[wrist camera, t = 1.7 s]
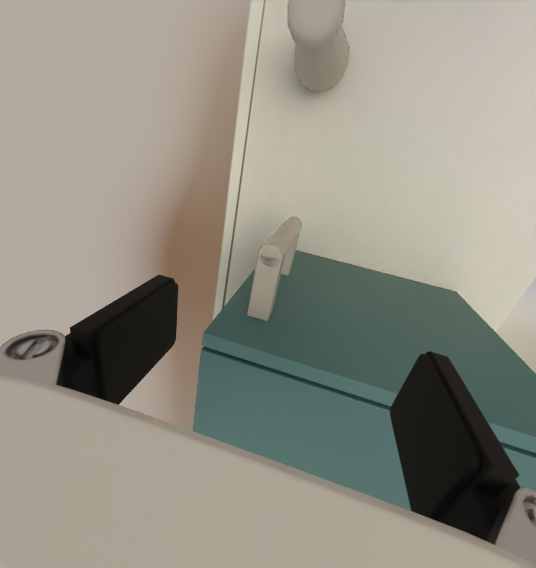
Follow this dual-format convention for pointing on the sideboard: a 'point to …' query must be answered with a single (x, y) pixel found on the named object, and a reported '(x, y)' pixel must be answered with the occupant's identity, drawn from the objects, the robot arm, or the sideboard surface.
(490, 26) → the sideboard surface
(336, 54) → the salt shaker
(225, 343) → the fridge door
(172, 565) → the robot arm
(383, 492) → the box
